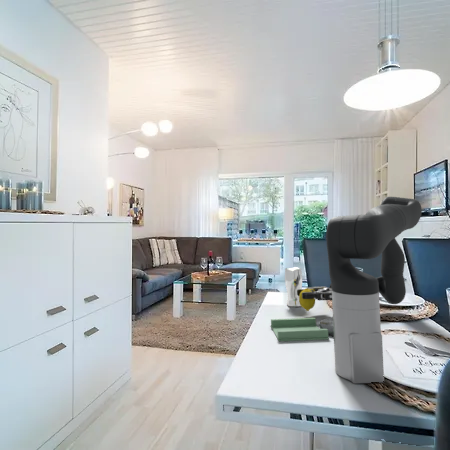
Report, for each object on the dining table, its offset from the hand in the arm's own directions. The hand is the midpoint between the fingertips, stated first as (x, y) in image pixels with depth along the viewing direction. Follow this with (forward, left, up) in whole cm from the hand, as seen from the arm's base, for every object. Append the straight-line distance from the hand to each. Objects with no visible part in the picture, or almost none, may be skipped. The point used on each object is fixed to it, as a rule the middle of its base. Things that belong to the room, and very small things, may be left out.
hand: (299, 294), depth 108 cm
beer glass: (+16, -2, -8) cm, 18 cm away
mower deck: (-17, -9, -8) cm, 20 cm away
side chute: (-17, +5, -8) cm, 19 cm away
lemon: (0, -3, -6) cm, 7 cm away
